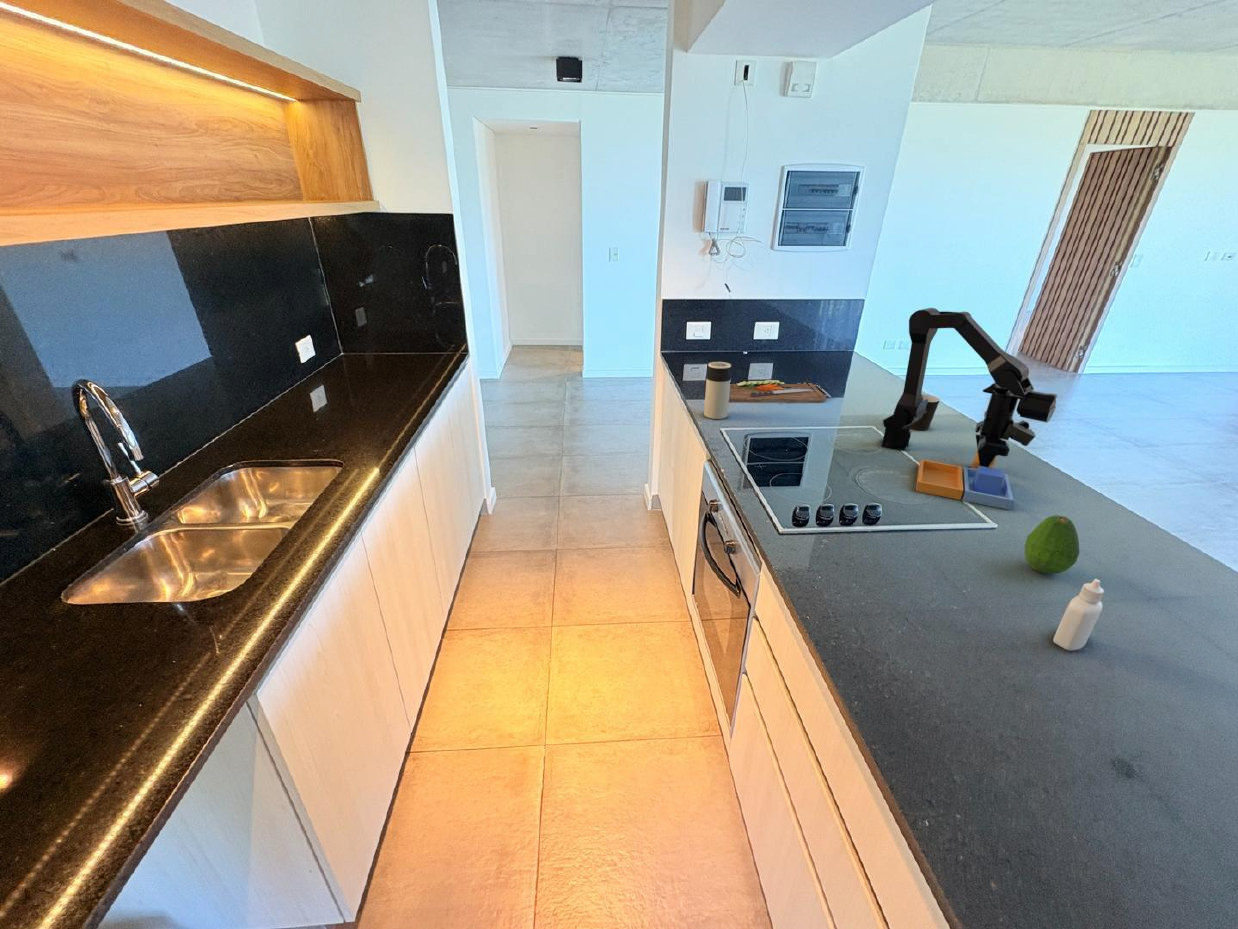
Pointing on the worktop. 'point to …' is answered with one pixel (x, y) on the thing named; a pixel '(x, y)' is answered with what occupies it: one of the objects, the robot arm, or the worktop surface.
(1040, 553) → the avocado
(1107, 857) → the worktop surface
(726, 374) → the travel mug
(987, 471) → the blue block
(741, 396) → the chopping board
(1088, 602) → the eye dropper bottle
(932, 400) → the coffee mug
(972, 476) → the blue tray
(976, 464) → the orange cylinder
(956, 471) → the amber tray
